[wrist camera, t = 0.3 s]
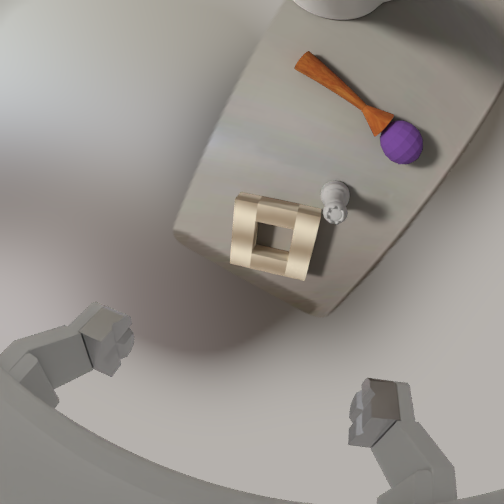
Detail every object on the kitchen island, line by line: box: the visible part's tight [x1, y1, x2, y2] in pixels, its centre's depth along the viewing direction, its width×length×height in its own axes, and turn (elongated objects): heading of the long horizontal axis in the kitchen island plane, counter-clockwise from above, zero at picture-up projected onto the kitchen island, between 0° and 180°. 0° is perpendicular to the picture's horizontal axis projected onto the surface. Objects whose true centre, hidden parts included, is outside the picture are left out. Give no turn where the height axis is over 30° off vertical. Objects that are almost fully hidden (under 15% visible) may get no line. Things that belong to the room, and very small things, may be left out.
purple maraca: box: [295, 51, 423, 164], centre depth 34 cm, size 6×6×20 cm
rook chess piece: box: [321, 181, 350, 225], centre depth 40 cm, size 4×4×8 cm
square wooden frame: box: [230, 192, 322, 281], centre depth 49 cm, size 12×13×3 cm
